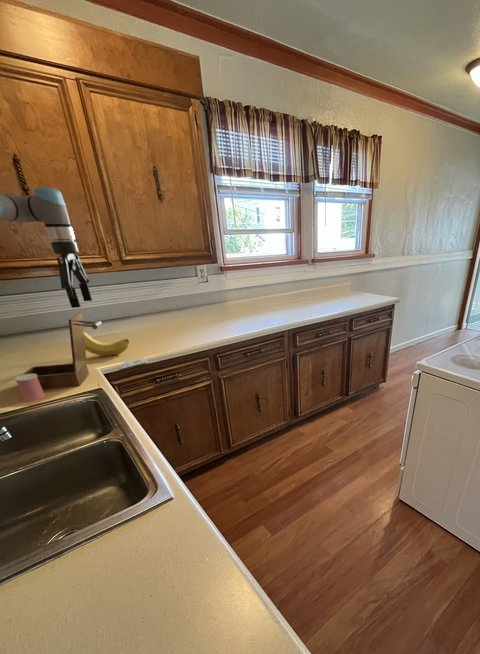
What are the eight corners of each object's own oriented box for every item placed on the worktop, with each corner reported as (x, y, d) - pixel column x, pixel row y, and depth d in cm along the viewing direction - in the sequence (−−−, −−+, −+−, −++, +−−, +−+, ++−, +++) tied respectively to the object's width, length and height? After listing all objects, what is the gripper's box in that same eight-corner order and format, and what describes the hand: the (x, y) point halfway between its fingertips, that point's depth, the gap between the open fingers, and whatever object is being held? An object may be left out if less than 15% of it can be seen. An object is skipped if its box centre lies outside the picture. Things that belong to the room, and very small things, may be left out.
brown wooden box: (23, 393, 125) (16, 378, 122) (37, 380, 136) (32, 366, 133) (80, 387, 129) (75, 373, 126) (90, 375, 140) (85, 362, 137)
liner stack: (20, 404, 117) (10, 381, 113) (30, 396, 123) (21, 374, 118) (40, 402, 118) (30, 379, 114) (49, 394, 123) (40, 372, 119)
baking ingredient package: (148, 361, 153) (114, 369, 145) (148, 362, 154) (114, 370, 145) (142, 356, 159) (109, 364, 151) (143, 357, 160) (109, 365, 151)
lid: (68, 319, 118) (94, 322, 120) (79, 312, 129) (103, 315, 131) (73, 371, 126) (98, 373, 129) (84, 361, 137) (106, 362, 140)
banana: (132, 350, 170) (122, 312, 161) (131, 354, 166) (121, 314, 157) (82, 356, 163) (69, 316, 154) (80, 360, 158) (66, 318, 149)
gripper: (64, 240, 122) (82, 299, 132) (34, 241, 101) (58, 311, 110) (86, 240, 124) (102, 298, 134) (61, 241, 103) (82, 309, 112)
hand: (82, 304), depth 122 cm, fingers open, 13 cm apart
